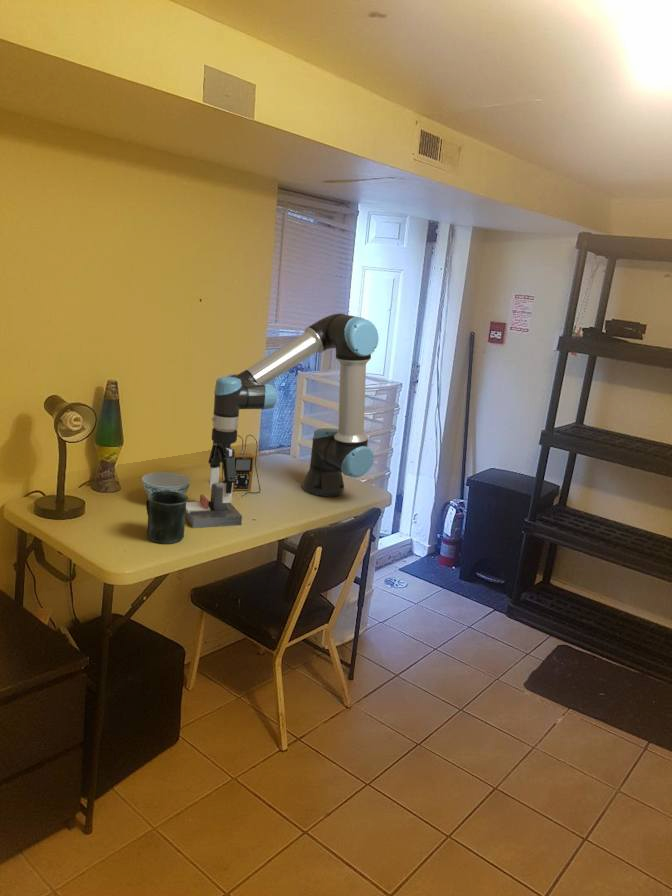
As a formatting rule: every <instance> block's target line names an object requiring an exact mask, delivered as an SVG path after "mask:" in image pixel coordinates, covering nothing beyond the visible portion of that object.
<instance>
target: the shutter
mask: <svg viewBox="0 0 672 896" xmlns="http://www.w3.org/2000/svg"><path fill="white" fill-rule="evenodd" d="M199 501H200V502H197V501H187V502H186V511H187V512H188V513H190V511H209V510H210V508H209V507H208V505H209V501H210V500H209V499H207V497H206V496H205V494H199Z"/></svg>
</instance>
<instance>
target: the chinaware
mask: <svg viewBox="0 0 672 896" xmlns="http://www.w3.org/2000/svg"><path fill="white" fill-rule="evenodd" d="M141 482H142V487H143V490H144V491H145V492H146V494H147V496H148V495H149V494H151V493H154V492H159V491H172V492H178V493H181V494H183V495H186V493H187V491H188V489H189V487H190V483H191V479H190V477H188V476H187V475H185V474H181V473H176V472H169V471H168V472H167V471H159V472H158V471H157V472H149V473H147V474H145V475H143V476H142V478H141Z"/></svg>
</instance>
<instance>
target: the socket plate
mask: <svg viewBox="0 0 672 896" xmlns="http://www.w3.org/2000/svg"><path fill="white" fill-rule="evenodd" d="M208 501H209V505H208V507H209V508H210V502H211V500H208ZM196 502H200V500H198V501H196ZM185 520H186V521H187V522H188V523H189V524H190V526H191V527H192V529H198V528H200V529H201V528H215V527H230V526H231V527H233V526H241V525H242V523H243V522H242V521H243V515H242V514H241V513H240V511H238V510H237V508H236V507H235V506H234V505H233V504H232V502H231V503H227V509H226V510H212V509H211V508H210V510H209V511H190V513H188V512H187V511H186V513H185Z"/></svg>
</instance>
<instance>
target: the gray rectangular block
mask: <svg viewBox="0 0 672 896" xmlns="http://www.w3.org/2000/svg"><path fill="white" fill-rule="evenodd" d="M210 489H211V490H210V493H211V494H210V501H211V502H210V508H211V509H212V510H226V509H227V503H222V495H223V483H222V482H219V483H214V484H212V488H210Z"/></svg>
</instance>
